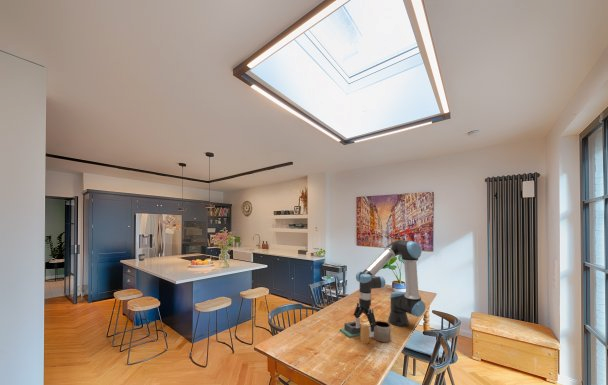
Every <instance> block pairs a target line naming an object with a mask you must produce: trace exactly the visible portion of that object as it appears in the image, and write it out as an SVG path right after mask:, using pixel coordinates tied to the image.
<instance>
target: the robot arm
mask: <svg viewBox="0 0 608 385" xmlns="http://www.w3.org/2000/svg"><path fill="white" fill-rule="evenodd" d="M418 243H419V242H416V241H412V240H404V239H397V240H394V241H392V242H391V243H389V244H388V245H386V247H384V250H383V251H382V252H381V253H380V254H379V255H378V256H377V257H376V258H375V259H374V260H373V261H372V262H371V263H370V264H369V265H368V266H367V267H366V268H365V269H364V270H363V271H358V272H357V273H356V274H355V279H356V281H357V282H358V283H359V294H358V295H359V296H358V298H359V299H358V300H359V301H358V302H357V303H356V307H355V310H354V313H353V316H354V317H355V321H356V328H360V324H361V316H362V314H364V315H365V316H366V318H367V320H368V323H369V325H368V326H369V338H372V337H373V338H374V326H377V324H376V317H375V313H374V309H373V308H370V307H371V305H372V300H371V299H372V290H373V289H382V288H384V287H385V286H386V279H385V278H384V277H383V276H382V275H381V276H379V275H378V276H375V275H377V274H378V273H379V272H380V270H381V269H382V268H384V267H385V266H386V264H388V263H389V261H391V259H394V258H395V257H397V256H401V260H402V261H403V263H404V264H403V265H404V266H403V267H404V278H405V279H404V280H405V291H398V290H397V291H392V292H391V293H390V297H389V298H390V312H389V316H388V323H389V324H390V325H394V326H396V327H407V326H409V324H410V320H409V318H408V314H410V315H412V316H413V317H414V316H415V317H421V316H422V315H424V313H425V311H426V303H425V301H423V300H422V296H421V295H420V294H419V282H418V281H419V280H418V279H419V278H418V268H417V267H418V266H417V262H418V261H419V258H420V257H421V255H422V248H421V245H420V244H418Z"/></svg>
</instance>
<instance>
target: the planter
mask: <svg viewBox="0 0 608 385" xmlns="http://www.w3.org/2000/svg"><path fill="white" fill-rule="evenodd" d="M375 321H376V320H375ZM376 324H377V326H374V333H373V338H374V339H375V340H376V341H377V342H381V343H389V342H390V341H391V323H390V322H386V321H384V320H377V321H376Z"/></svg>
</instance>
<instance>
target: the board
mask: <svg viewBox="0 0 608 385" xmlns="http://www.w3.org/2000/svg"><path fill="white" fill-rule="evenodd" d="M361 325H362V323H360V328H356V320H354V321H349V322H344V327H342V328H339V332H341V333H342V334H344V336H346V337H347V338H349V339H352V338H357V337H360V333H361Z"/></svg>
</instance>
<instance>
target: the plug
mask: <svg viewBox="0 0 608 385" xmlns="http://www.w3.org/2000/svg"><path fill="white" fill-rule="evenodd" d="M369 326H370V325H367V324H361V333H360V336H359V338H360V339H359V340H360V342H361V343H362V344H364V345H365V344H368V343H369V342H370V337H369Z"/></svg>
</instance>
